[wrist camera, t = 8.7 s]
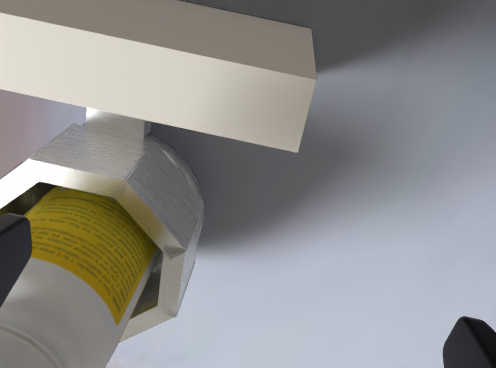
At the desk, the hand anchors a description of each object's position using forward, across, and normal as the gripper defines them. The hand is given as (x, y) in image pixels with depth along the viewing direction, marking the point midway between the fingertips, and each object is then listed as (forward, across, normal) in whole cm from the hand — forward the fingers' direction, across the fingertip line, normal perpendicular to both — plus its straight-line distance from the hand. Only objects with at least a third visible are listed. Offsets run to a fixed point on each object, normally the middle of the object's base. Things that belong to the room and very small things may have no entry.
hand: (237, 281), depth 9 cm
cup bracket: (+10, +6, +4) cm, 13 cm away
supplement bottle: (+9, +6, +6) cm, 13 cm away
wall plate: (+12, +6, -2) cm, 14 cm away
